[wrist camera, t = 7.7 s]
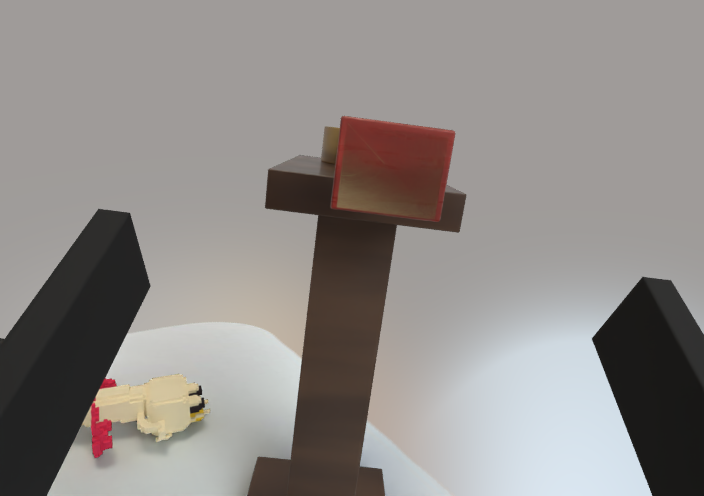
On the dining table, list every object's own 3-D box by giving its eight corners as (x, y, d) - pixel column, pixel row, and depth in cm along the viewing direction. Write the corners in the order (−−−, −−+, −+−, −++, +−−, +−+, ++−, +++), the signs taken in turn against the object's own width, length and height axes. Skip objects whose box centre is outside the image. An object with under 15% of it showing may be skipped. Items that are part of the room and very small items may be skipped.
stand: (396, 648, 30) (486, 196, 23) (213, 633, 30) (247, 166, 23) (379, 474, 46) (429, 171, 39) (258, 462, 45) (287, 153, 38)
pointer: (487, 228, 13) (506, 137, 13) (281, 203, 13) (290, 108, 12) (395, 168, 38) (400, 135, 37) (322, 158, 37) (326, 125, 37)
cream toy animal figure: (-117, 518, 36) (215, 443, 46) (-144, 421, 33) (213, 365, 43) (-67, 438, 44) (203, 389, 54) (-85, 356, 42) (201, 322, 52)
